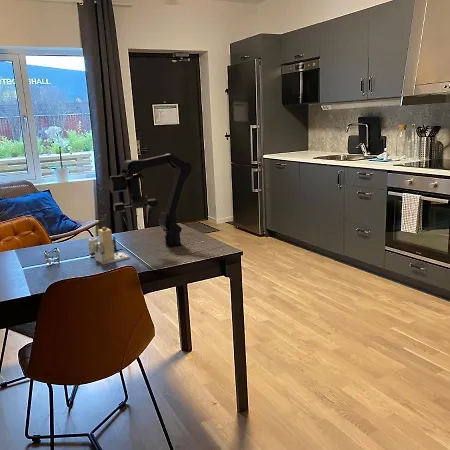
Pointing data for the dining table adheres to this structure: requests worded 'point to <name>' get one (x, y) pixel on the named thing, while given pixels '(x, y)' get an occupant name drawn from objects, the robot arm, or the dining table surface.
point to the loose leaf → (106, 242)
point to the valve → (94, 240)
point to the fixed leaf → (101, 257)
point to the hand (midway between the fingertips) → (137, 224)
